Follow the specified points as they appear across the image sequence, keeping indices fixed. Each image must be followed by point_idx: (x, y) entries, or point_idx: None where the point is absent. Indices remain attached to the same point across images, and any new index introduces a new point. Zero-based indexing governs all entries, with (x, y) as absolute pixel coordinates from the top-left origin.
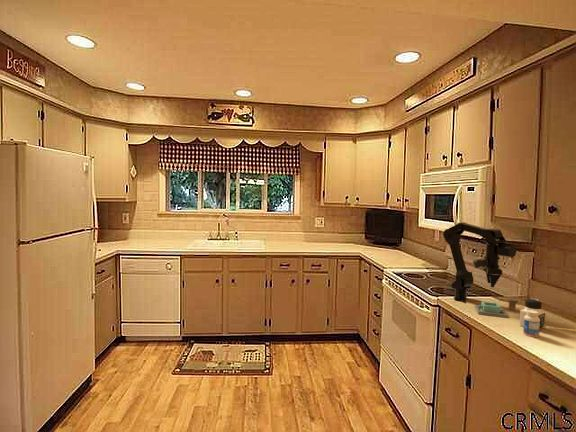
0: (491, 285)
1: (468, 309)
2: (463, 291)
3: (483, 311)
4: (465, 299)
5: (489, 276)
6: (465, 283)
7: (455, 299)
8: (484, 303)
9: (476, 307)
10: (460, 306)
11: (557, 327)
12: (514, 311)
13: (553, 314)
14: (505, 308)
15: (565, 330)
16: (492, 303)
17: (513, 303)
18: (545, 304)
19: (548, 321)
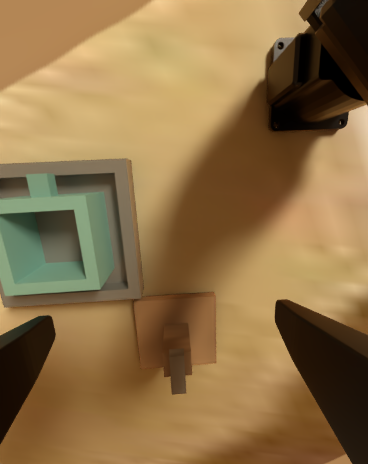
0: (18, 331)
1: (93, 122)
2: (309, 71)
3: (14, 197)
4: (290, 117)
5: (344, 391)
6: (328, 25)
7: (274, 45)
8: (37, 210)
9: (60, 162)
10: (137, 75)
11: (27, 438)
12: (145, 339)
13: (203, 450)
14: (181, 310)
15: (5, 452)
16: (85, 260)
17: (163, 364)
18: (342, 447)
19: (92, 425)
